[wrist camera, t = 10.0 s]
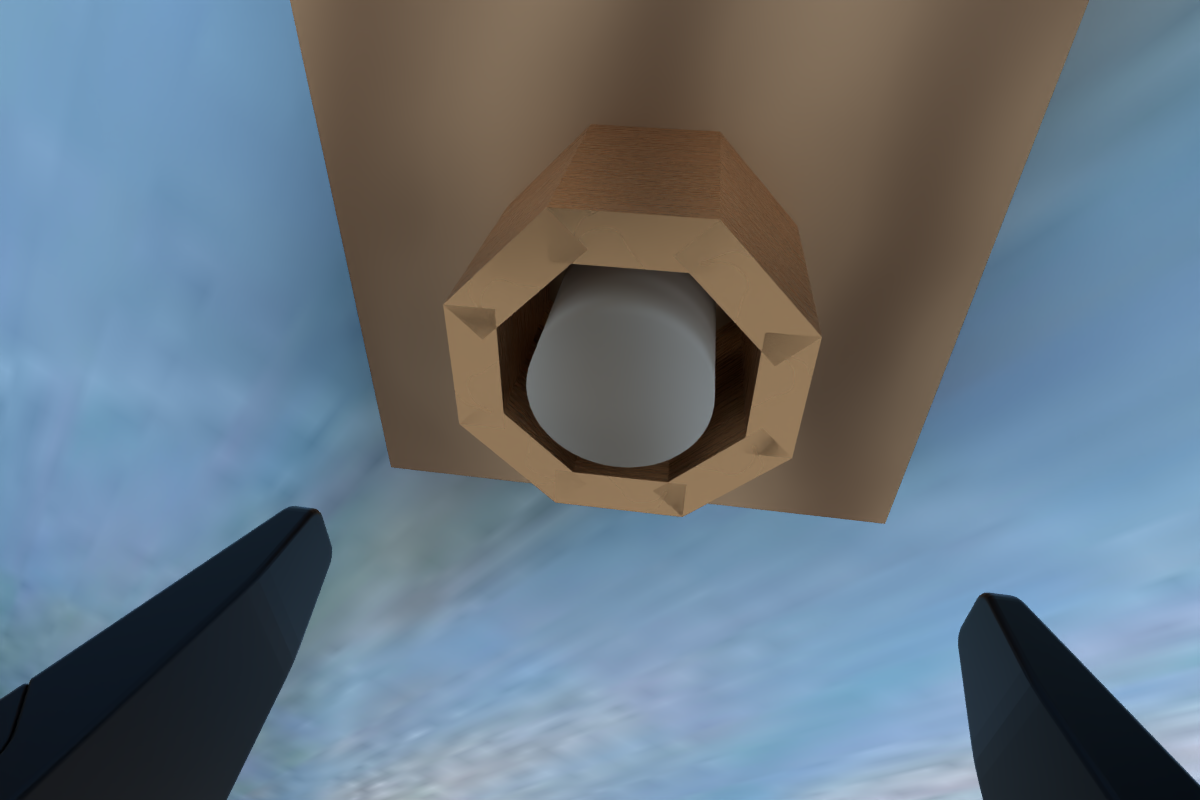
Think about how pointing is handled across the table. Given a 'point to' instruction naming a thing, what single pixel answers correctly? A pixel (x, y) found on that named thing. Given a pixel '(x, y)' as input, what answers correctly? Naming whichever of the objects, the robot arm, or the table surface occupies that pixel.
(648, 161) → the brown octagonal cup
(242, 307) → the table surface
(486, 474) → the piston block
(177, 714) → the robot arm
